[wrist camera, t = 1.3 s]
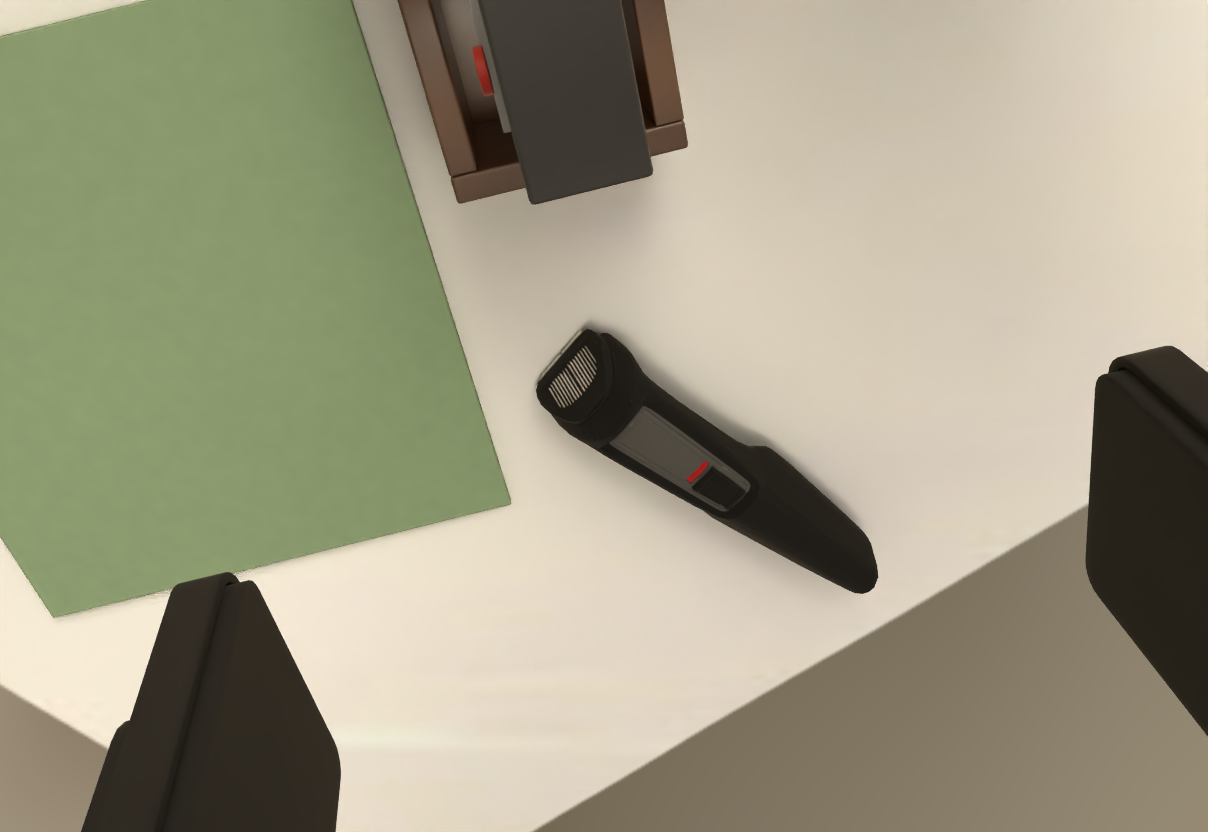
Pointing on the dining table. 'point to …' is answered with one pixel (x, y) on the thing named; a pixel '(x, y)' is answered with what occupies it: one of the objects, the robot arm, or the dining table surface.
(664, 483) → the electric trimmer
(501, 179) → the holder
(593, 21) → the dark grey rectangular brick
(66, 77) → the mat
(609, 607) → the dining table surface
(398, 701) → the dining table surface
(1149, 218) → the dining table surface
